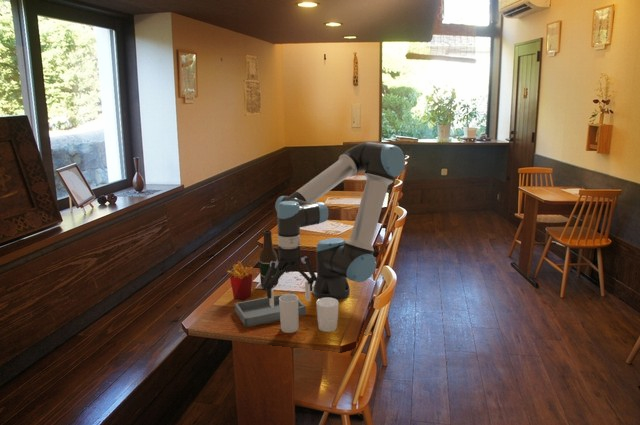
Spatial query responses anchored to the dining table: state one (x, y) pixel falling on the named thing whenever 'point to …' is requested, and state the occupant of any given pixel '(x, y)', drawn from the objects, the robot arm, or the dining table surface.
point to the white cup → (327, 314)
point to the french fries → (241, 282)
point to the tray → (262, 311)
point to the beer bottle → (267, 256)
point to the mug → (289, 313)
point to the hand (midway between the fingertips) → (290, 303)
